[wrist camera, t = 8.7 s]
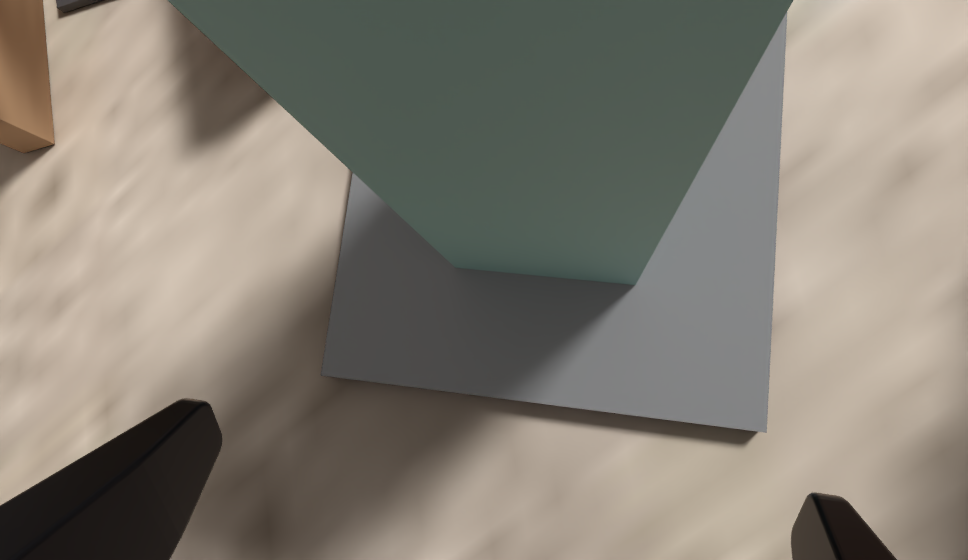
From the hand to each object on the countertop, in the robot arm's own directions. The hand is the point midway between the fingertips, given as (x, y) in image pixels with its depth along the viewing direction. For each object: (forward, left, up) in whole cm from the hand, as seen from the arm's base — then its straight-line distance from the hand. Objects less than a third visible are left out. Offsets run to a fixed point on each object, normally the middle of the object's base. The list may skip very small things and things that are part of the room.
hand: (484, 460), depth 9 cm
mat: (+5, +4, -8) cm, 10 cm away
